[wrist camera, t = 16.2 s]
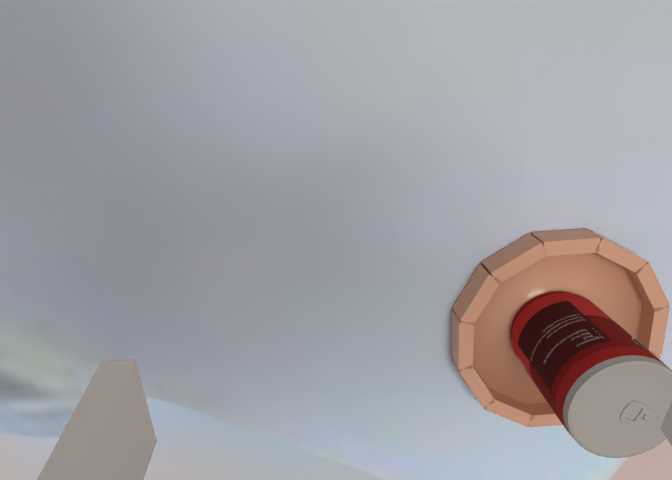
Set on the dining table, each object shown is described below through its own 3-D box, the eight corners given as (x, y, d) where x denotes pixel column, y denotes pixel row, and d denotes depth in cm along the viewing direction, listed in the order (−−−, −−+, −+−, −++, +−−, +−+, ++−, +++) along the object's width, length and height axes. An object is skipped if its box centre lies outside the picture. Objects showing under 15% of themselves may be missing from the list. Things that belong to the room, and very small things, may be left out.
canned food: (586, 371, 46) (667, 462, 35) (497, 364, 45) (554, 456, 35) (610, 291, 43) (705, 365, 33) (517, 284, 43) (584, 356, 32)
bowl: (449, 415, 48) (457, 433, 45) (452, 237, 42) (460, 248, 40) (634, 400, 48) (651, 417, 46) (662, 222, 42) (682, 231, 40)
